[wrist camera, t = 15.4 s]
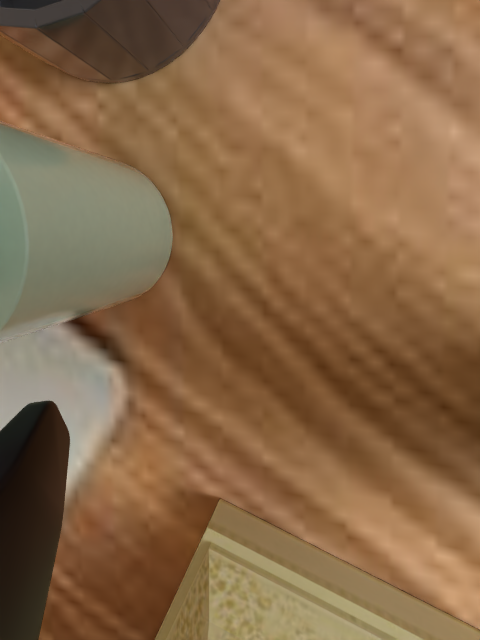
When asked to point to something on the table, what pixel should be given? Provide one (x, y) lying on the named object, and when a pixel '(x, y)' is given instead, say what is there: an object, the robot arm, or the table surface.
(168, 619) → the decorative clock
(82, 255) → the bottle
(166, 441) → the table surface
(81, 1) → the cup
